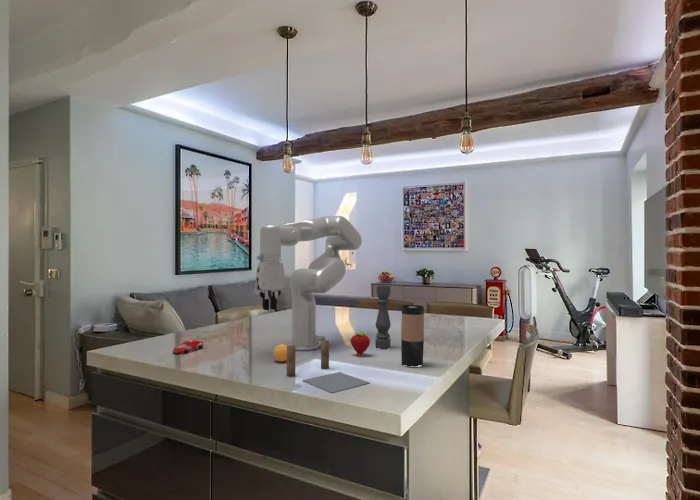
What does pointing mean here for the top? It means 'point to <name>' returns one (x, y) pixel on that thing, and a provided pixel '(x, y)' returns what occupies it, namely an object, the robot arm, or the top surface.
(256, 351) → the top surface
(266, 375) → the top surface
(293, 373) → the post
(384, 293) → the candle holder
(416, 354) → the travel mug
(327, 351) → the post
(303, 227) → the robot arm
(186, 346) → the race car
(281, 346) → the ball
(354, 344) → the strawberry
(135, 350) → the top surface
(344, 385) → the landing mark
